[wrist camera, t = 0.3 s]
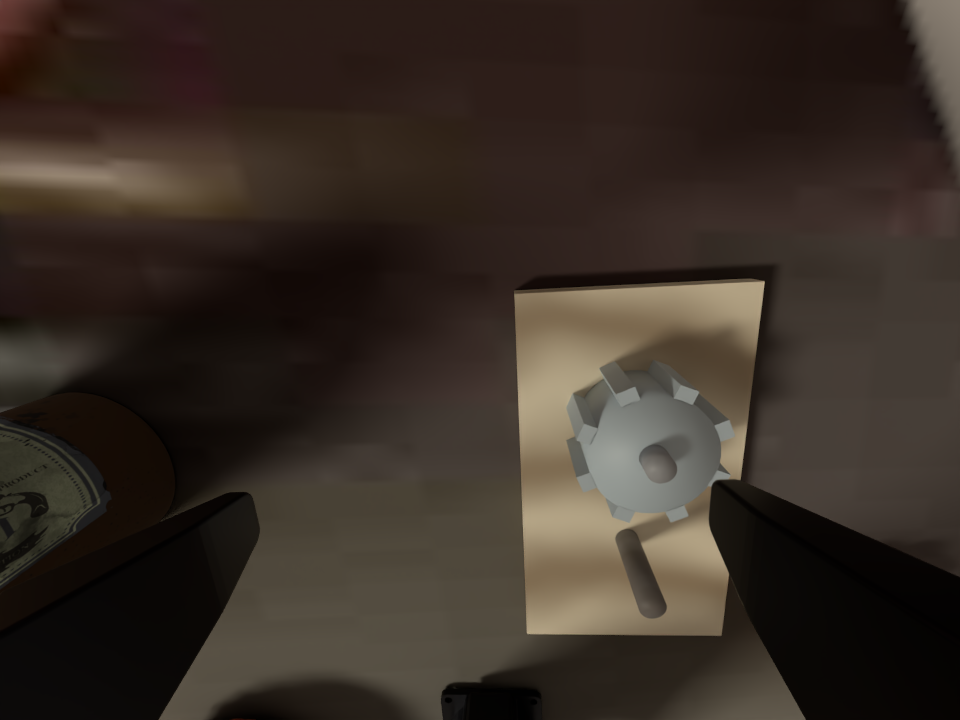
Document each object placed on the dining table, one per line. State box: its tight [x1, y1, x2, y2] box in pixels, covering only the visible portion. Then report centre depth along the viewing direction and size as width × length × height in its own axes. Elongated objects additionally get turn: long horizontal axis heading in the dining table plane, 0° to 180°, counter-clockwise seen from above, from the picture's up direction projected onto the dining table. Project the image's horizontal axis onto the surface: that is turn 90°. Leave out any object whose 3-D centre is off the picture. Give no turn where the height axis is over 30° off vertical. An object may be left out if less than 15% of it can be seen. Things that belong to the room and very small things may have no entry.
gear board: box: [514, 278, 765, 636], centre depth 21 cm, size 20×11×6 cm, turn 3°
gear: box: [566, 360, 735, 523], centre depth 20 cm, size 6×6×4 cm
